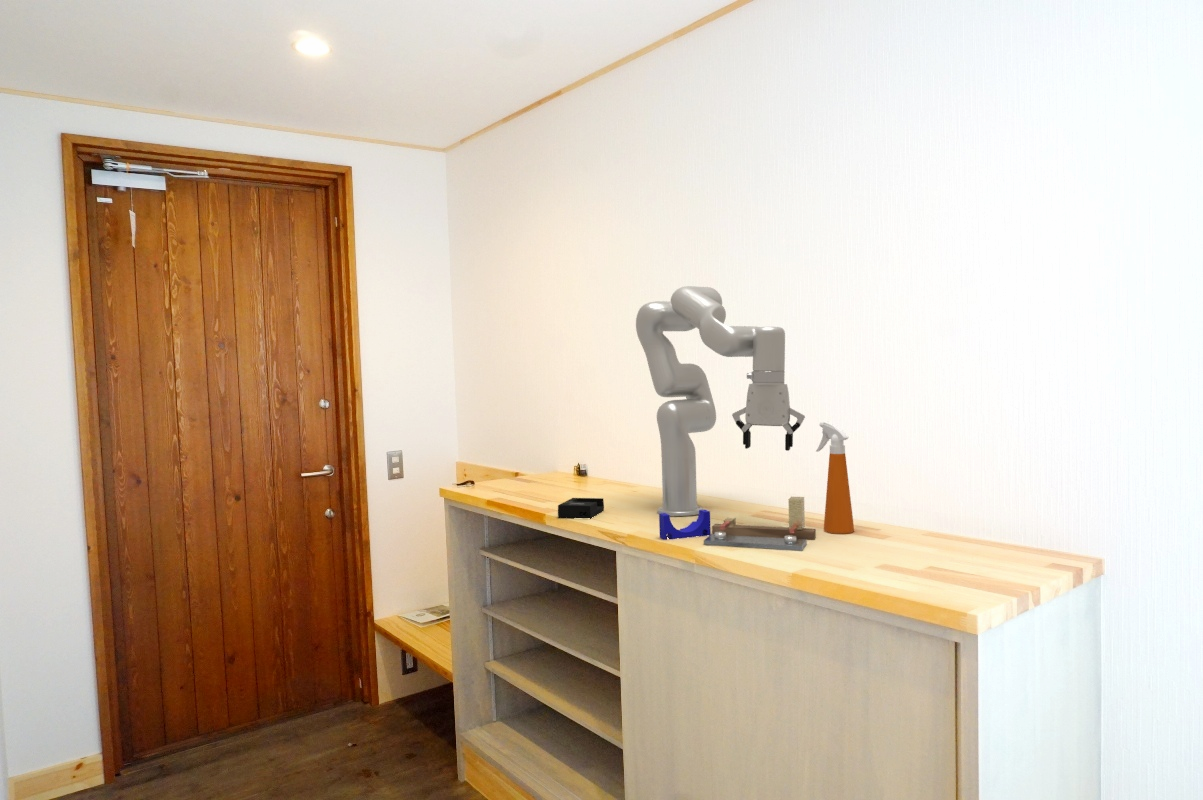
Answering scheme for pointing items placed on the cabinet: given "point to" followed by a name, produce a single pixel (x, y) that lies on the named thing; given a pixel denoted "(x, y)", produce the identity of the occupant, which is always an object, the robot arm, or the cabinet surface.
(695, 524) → the cable clip
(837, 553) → the cabinet surface
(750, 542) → the bolt plate
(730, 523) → the beam
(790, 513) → the slider
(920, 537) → the cabinet surface
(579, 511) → the battery charger
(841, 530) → the spray bottle
